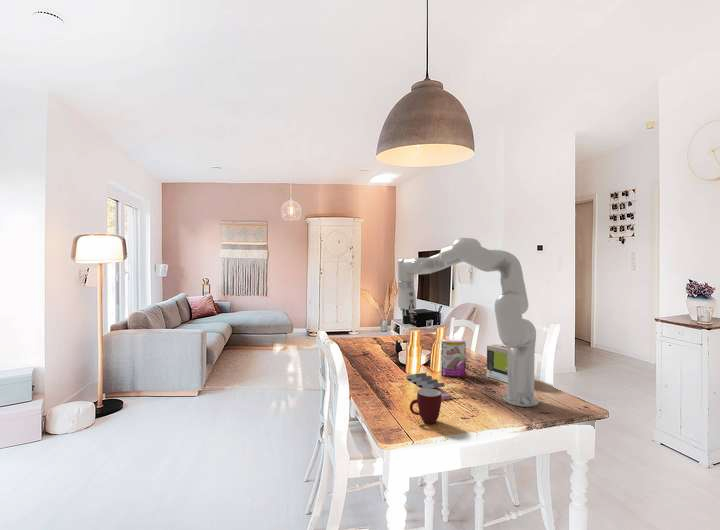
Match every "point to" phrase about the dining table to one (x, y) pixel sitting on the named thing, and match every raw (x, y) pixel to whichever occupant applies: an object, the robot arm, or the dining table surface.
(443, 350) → the candy bar box
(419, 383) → the domino
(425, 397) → the mug
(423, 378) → the domino
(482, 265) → the robot arm
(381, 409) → the dining table surface
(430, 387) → the domino
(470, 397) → the dining table surface
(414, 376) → the domino
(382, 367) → the dining table surface
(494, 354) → the grey toy television
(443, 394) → the plum domino
